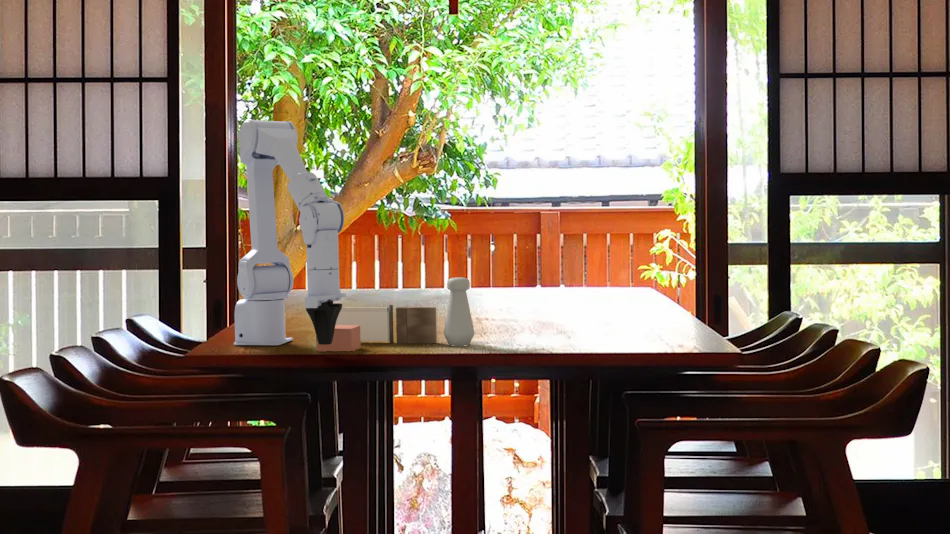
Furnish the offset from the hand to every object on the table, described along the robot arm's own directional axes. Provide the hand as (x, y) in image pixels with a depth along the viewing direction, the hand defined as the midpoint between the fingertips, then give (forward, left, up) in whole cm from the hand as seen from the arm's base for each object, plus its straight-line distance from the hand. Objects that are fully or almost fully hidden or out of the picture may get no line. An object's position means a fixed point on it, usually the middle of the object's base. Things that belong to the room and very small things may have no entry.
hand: (325, 344), depth 169 cm
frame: (+5, +17, -2) cm, 18 cm away
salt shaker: (+22, +15, -2) cm, 27 cm away
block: (0, +8, -2) cm, 8 cm away
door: (+2, +17, -2) cm, 17 cm away
